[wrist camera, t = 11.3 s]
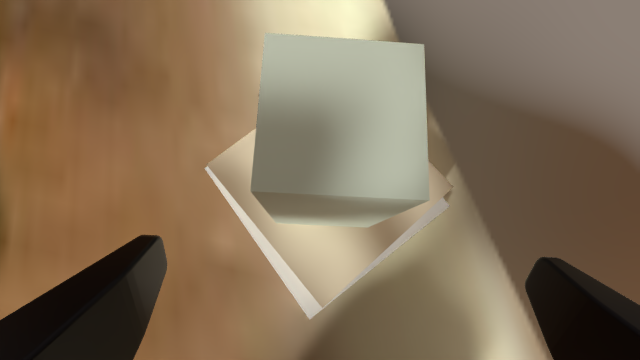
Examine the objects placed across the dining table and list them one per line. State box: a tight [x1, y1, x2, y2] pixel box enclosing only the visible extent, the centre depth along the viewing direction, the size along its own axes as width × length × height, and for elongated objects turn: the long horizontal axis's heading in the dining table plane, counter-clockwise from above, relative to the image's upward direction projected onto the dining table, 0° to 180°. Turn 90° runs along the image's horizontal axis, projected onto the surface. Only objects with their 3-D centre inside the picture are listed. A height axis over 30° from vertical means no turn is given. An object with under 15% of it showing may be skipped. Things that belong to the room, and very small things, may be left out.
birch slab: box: [207, 129, 453, 308], centre depth 20 cm, size 10×10×2 cm
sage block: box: [250, 33, 430, 228], centre depth 14 cm, size 5×5×9 cm
